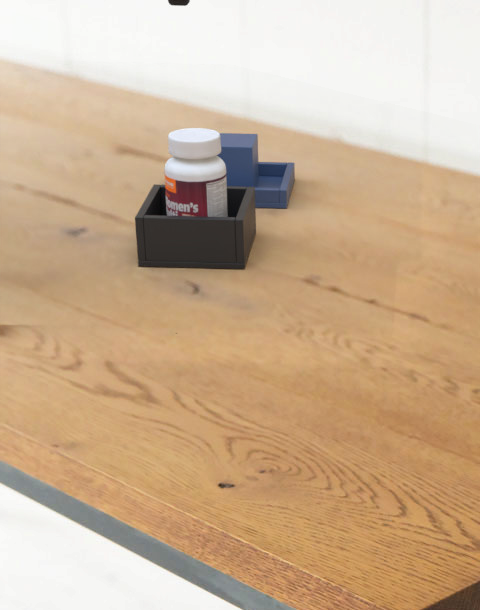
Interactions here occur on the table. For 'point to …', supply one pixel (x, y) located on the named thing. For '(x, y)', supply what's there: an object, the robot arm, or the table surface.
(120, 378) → the table surface
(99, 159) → the table surface
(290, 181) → the blue tray
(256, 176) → the blue block
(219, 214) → the pill bottle
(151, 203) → the charcoal bin
